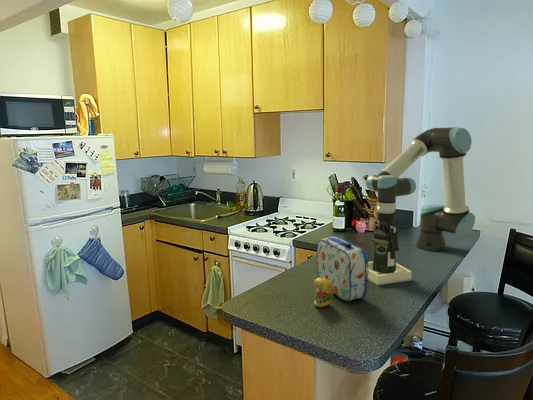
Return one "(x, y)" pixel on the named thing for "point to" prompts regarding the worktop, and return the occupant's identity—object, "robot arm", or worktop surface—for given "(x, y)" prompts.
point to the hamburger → (323, 292)
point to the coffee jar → (382, 253)
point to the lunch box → (343, 267)
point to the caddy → (389, 275)
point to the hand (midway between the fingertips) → (384, 261)
